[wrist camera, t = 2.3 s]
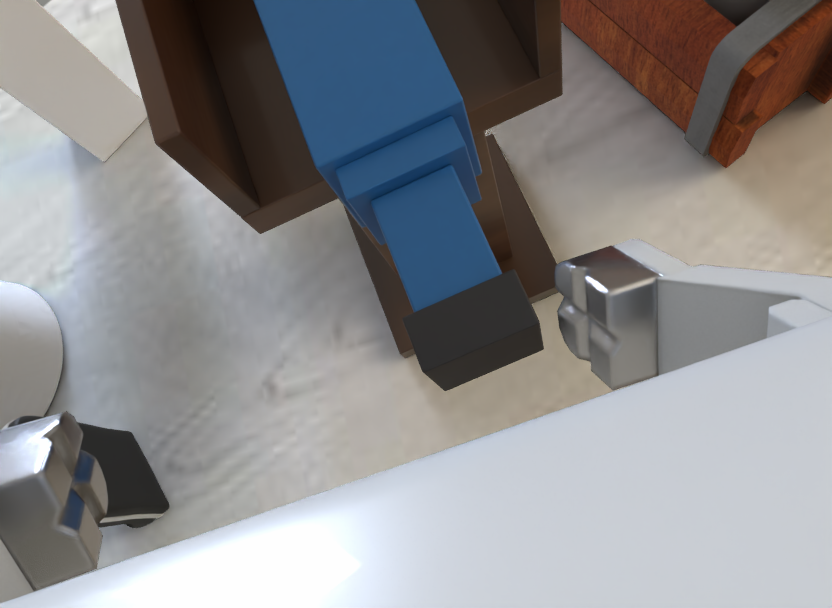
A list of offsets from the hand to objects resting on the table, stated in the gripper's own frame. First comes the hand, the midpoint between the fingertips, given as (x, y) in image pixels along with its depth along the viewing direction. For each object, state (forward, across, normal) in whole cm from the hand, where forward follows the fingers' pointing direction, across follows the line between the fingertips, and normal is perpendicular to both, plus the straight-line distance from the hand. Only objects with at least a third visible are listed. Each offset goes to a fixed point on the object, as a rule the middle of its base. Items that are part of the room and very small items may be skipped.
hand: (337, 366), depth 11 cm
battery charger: (+32, +14, +23) cm, 42 cm away
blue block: (+12, -4, -1) cm, 13 cm away
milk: (+53, +10, +2) cm, 54 cm away
